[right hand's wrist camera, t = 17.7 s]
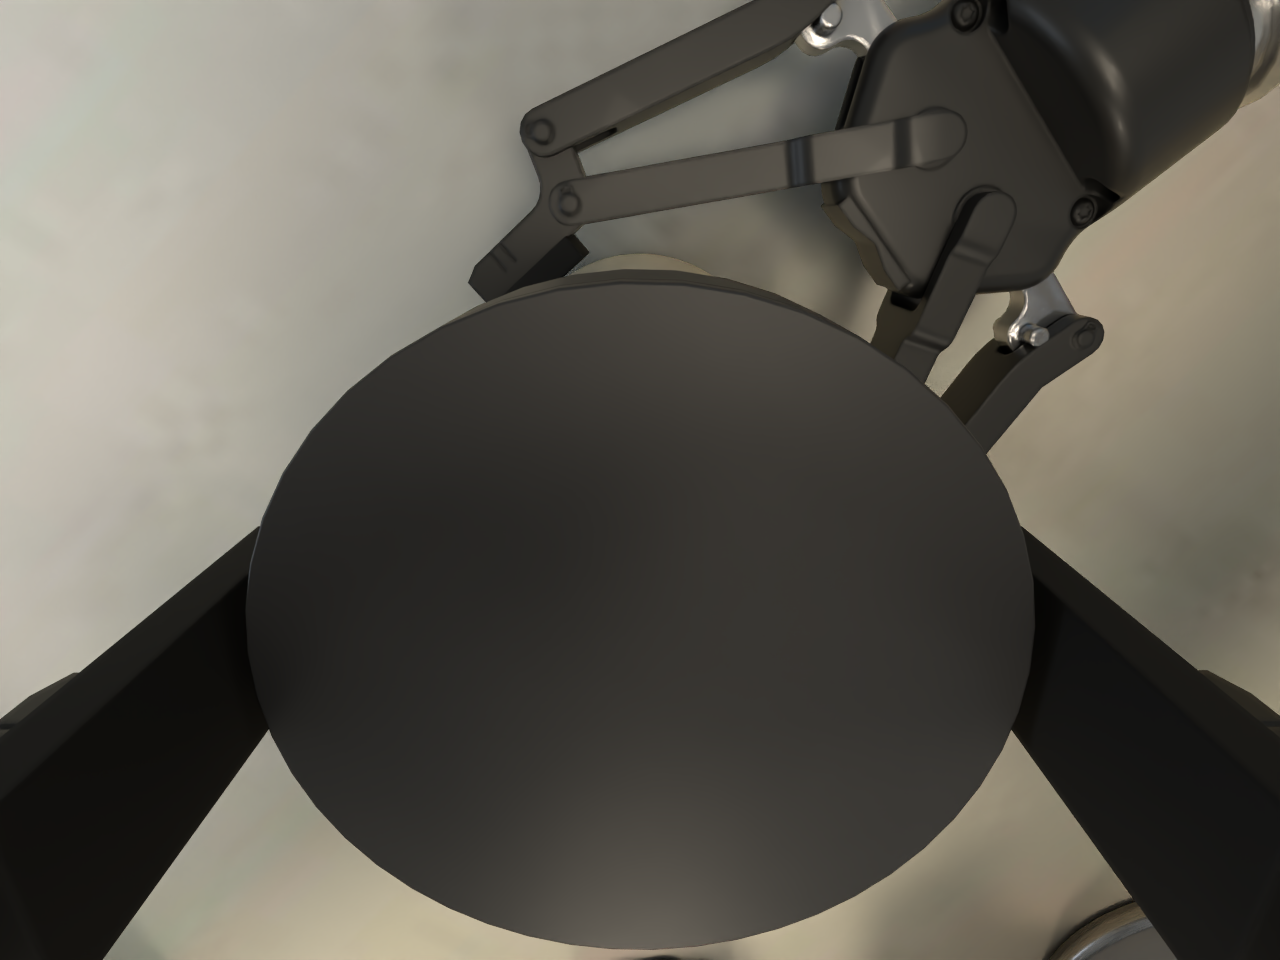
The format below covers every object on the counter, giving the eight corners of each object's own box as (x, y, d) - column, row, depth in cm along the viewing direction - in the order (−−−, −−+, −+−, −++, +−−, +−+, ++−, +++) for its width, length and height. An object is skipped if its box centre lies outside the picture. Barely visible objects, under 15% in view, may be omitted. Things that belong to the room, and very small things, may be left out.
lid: (1067, 691, 13) (1144, 777, 11) (558, 924, 15) (546, 1030, 13) (772, 98, 10) (807, 69, 8) (165, 516, 12) (68, 577, 10)
